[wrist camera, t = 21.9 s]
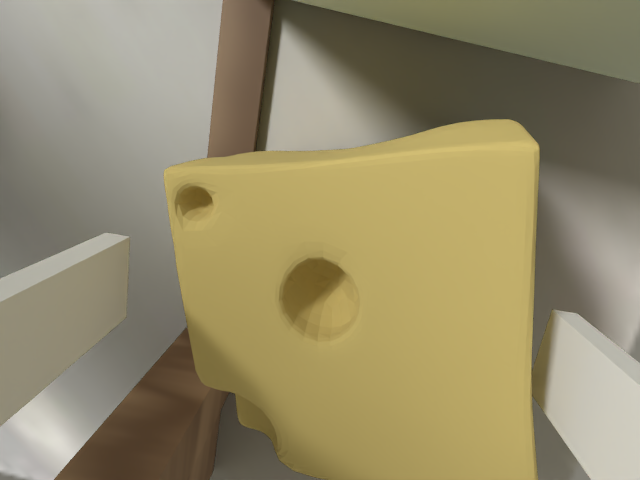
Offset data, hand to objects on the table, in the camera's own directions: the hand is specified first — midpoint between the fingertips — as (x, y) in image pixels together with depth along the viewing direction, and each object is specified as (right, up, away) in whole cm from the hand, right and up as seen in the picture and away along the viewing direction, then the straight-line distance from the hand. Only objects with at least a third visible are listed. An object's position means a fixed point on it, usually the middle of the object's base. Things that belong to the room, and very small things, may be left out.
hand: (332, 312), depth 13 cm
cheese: (+3, +2, +8) cm, 8 cm away
